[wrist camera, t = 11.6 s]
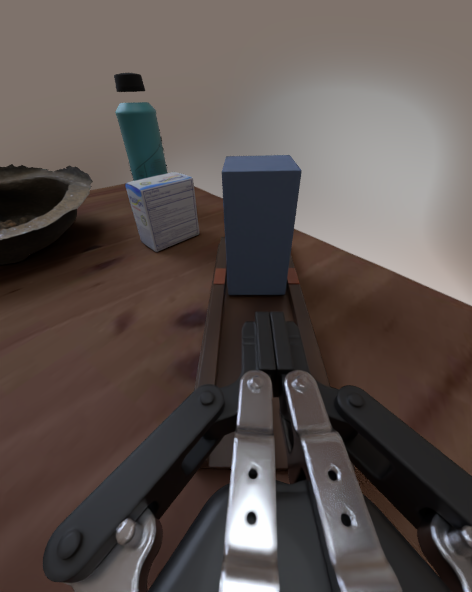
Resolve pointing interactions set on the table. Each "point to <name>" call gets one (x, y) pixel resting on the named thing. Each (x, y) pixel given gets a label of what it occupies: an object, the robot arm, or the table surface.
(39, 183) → the stone bowl
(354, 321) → the table surface
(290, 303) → the track
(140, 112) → the beverage bottle
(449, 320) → the table surface
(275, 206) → the block
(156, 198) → the medicine box
